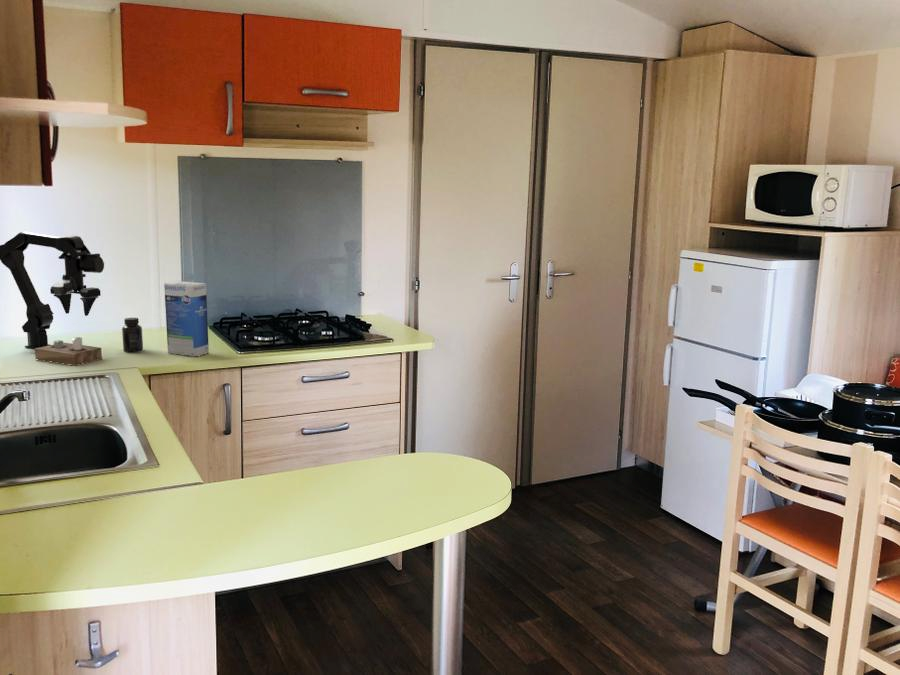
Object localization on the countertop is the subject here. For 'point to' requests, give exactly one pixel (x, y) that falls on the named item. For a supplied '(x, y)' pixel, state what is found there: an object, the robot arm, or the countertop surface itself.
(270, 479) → the countertop surface
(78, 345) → the steel pin
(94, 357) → the hole block
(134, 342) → the supplement bottle
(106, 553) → the countertop surface
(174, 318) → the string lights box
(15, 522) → the countertop surface
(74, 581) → the countertop surface
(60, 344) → the short grey peg
